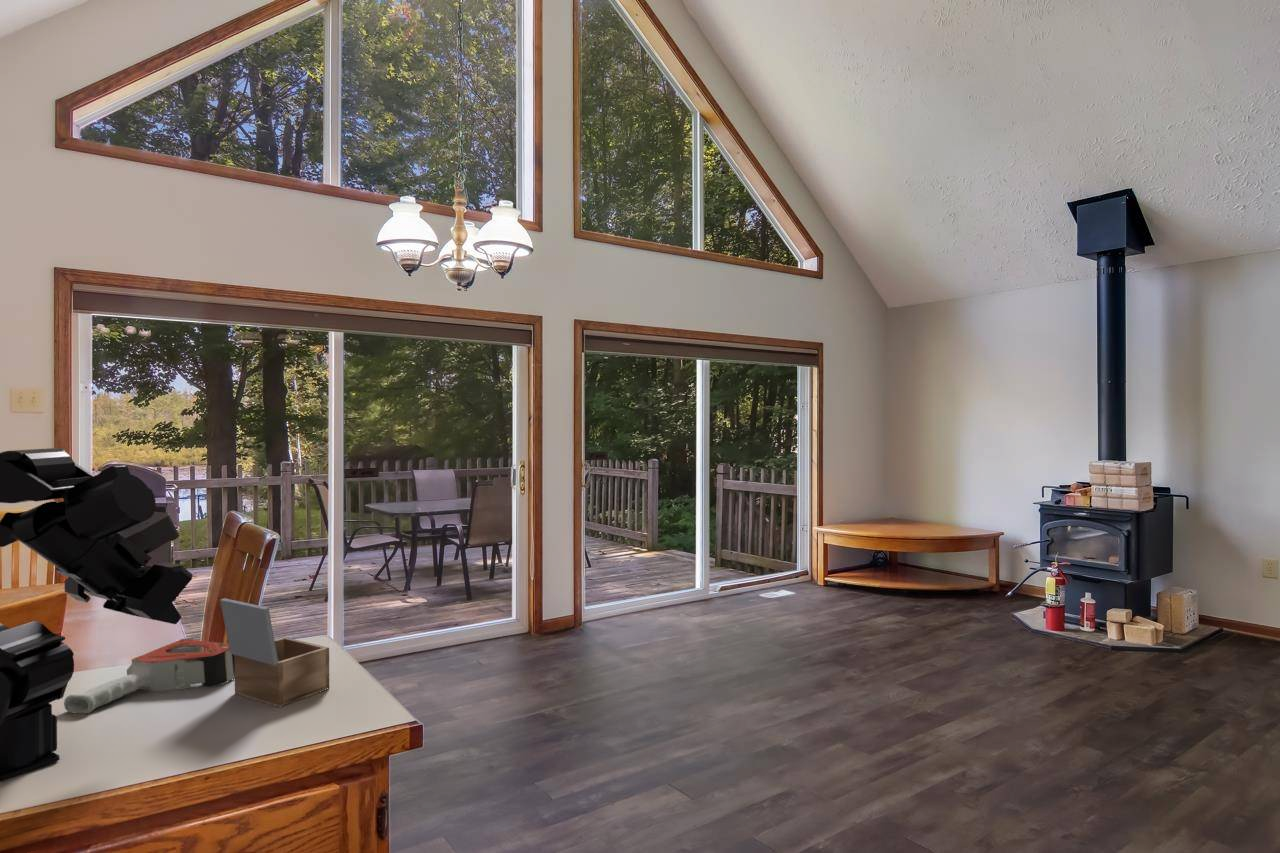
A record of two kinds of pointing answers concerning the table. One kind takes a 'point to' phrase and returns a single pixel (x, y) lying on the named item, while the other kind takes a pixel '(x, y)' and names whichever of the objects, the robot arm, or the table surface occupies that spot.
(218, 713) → the table surface
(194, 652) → the tape dispenser
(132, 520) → the robot arm
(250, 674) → the box
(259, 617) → the lid
